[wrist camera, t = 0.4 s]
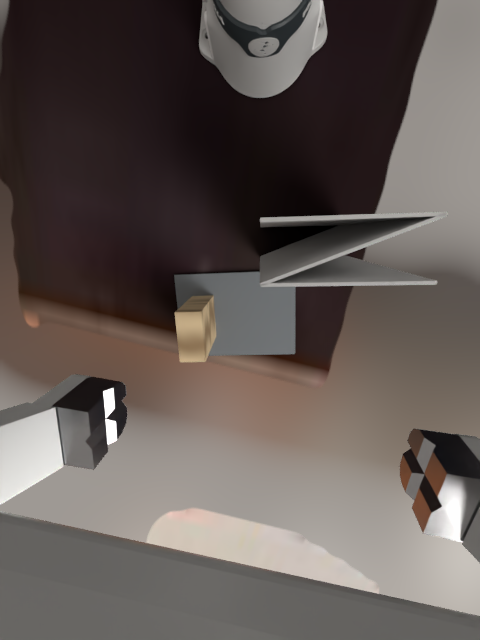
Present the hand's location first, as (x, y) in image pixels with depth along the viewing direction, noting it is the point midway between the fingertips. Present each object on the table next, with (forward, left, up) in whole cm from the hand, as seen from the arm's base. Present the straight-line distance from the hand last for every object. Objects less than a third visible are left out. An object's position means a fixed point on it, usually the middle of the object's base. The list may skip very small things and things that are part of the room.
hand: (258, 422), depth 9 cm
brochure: (-3, +7, -48) cm, 48 cm away
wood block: (+10, -11, -47) cm, 49 cm away
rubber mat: (+10, -5, -48) cm, 49 cm away
